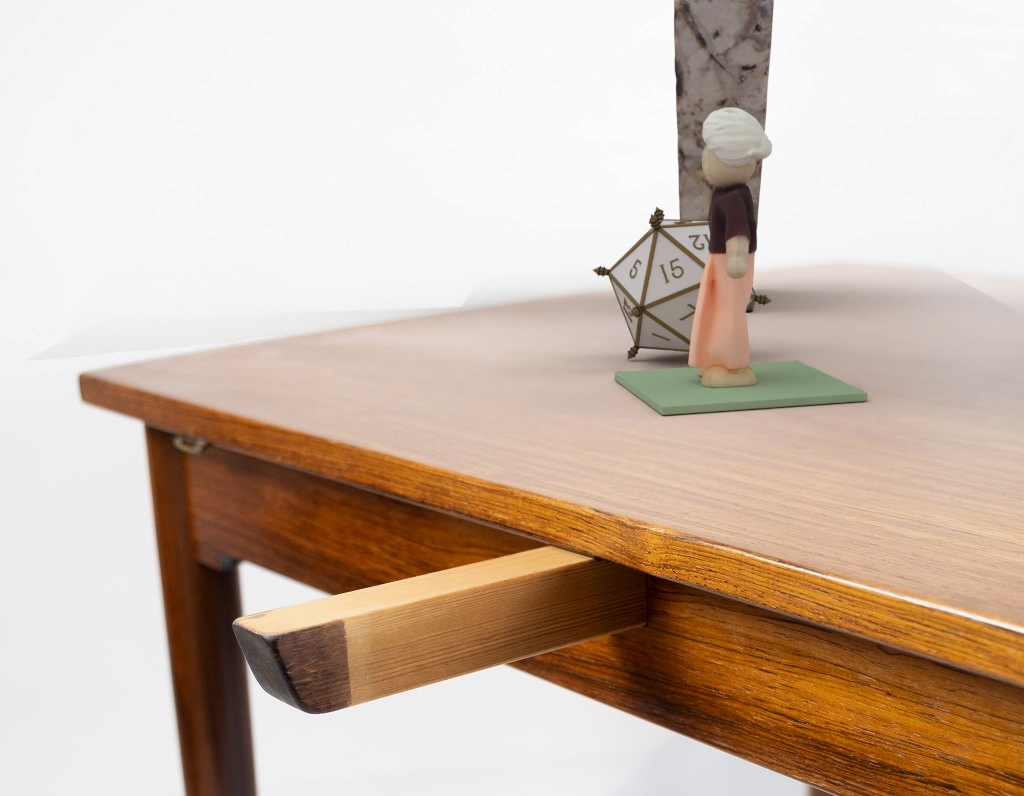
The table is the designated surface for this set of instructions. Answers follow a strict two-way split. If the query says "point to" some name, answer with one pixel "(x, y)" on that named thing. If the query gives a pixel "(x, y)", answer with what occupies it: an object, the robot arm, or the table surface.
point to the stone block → (717, 84)
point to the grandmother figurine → (728, 250)
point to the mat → (738, 389)
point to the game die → (663, 283)
